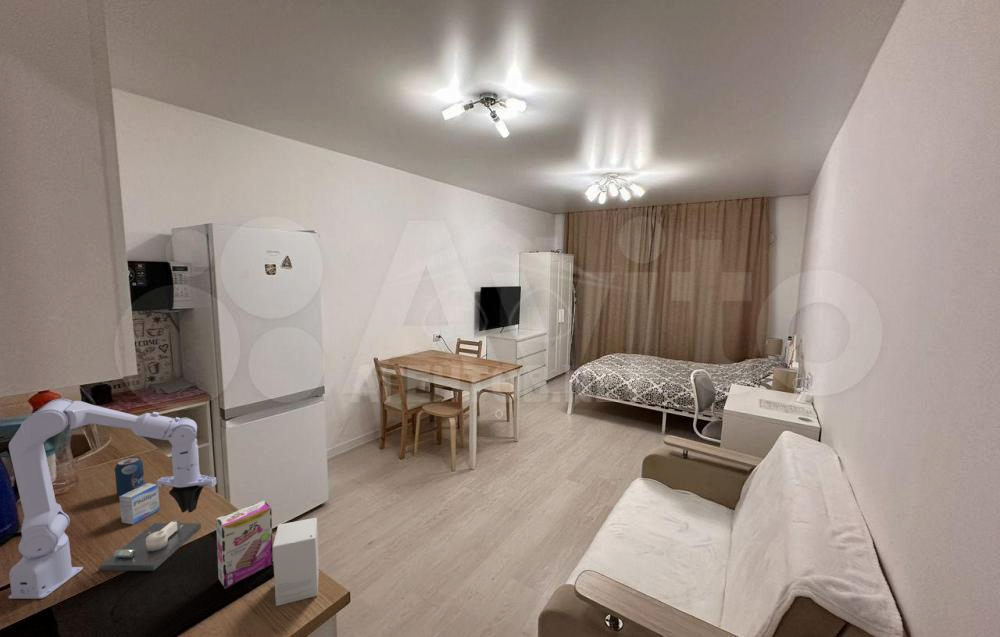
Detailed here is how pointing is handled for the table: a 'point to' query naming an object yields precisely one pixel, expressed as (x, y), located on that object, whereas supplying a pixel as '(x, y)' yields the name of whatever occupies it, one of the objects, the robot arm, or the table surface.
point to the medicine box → (139, 503)
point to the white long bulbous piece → (161, 536)
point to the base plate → (143, 560)
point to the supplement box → (296, 561)
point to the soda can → (129, 475)
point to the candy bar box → (244, 543)
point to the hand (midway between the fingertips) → (189, 510)
